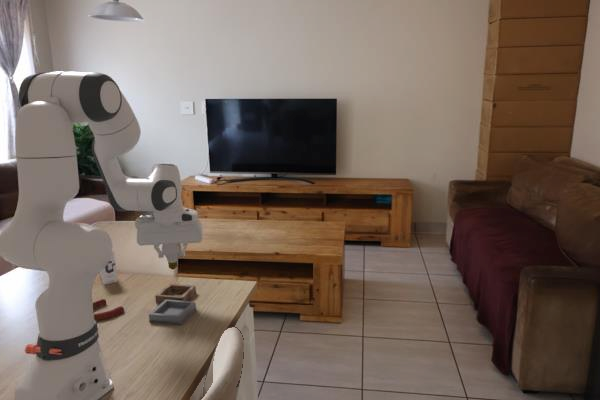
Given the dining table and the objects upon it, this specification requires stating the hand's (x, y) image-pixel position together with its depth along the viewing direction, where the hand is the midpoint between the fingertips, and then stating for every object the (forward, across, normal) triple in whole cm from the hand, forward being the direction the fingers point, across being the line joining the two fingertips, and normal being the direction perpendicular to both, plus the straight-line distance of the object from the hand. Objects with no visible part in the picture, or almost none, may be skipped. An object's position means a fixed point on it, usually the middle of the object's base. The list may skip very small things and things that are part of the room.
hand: (171, 256), depth 146 cm
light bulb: (+4, 0, 0) cm, 4 cm away
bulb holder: (+14, 0, +1) cm, 14 cm away
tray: (+15, +1, -12) cm, 19 cm away
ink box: (+14, -26, +21) cm, 36 cm away
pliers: (+15, -25, -9) cm, 31 cm away
